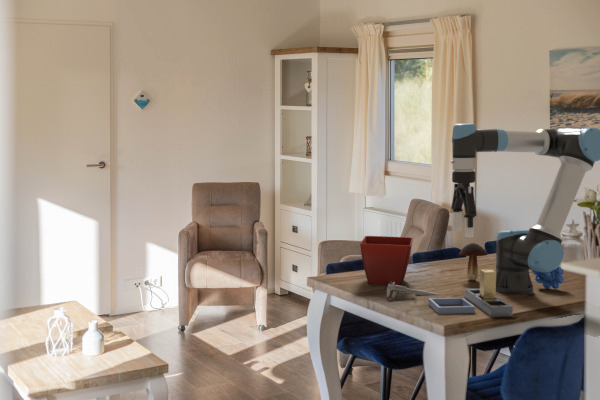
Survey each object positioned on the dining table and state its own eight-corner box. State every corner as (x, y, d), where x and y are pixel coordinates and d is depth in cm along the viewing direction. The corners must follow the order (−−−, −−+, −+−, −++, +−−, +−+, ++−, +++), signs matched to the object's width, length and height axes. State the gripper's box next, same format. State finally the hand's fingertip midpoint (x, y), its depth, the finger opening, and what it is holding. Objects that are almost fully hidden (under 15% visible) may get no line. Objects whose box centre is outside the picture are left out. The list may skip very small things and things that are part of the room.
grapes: (529, 289, 265) (530, 257, 264) (532, 285, 271) (533, 255, 270) (562, 292, 259) (563, 260, 258) (564, 289, 265) (565, 257, 264)
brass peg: (490, 304, 237) (491, 269, 236) (495, 307, 233) (496, 271, 232) (479, 304, 237) (480, 269, 236) (483, 307, 233) (484, 272, 232)
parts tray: (462, 306, 239) (463, 297, 238) (474, 315, 227) (474, 306, 227) (428, 307, 238) (428, 298, 237) (438, 316, 226) (438, 307, 225)
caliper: (387, 299, 250) (387, 281, 249) (386, 298, 251) (386, 281, 250) (443, 298, 252) (443, 280, 251) (442, 297, 253) (442, 280, 252)
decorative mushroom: (455, 281, 278) (456, 244, 276) (462, 276, 287) (463, 240, 286) (483, 284, 273) (484, 246, 271) (489, 279, 282) (490, 242, 281)
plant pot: (409, 289, 265) (410, 244, 263) (359, 286, 268) (359, 243, 267) (412, 278, 283) (412, 237, 282) (364, 276, 287) (365, 235, 285)
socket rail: (464, 299, 248) (464, 288, 248) (483, 299, 249) (484, 288, 248) (490, 319, 222) (491, 307, 222) (512, 319, 223) (512, 306, 222)
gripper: (442, 168, 245) (442, 228, 247) (463, 173, 220) (462, 240, 223) (464, 168, 245) (463, 228, 248) (487, 172, 221) (486, 239, 223)
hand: (463, 234), depth 235 cm, fingers open, 13 cm apart
